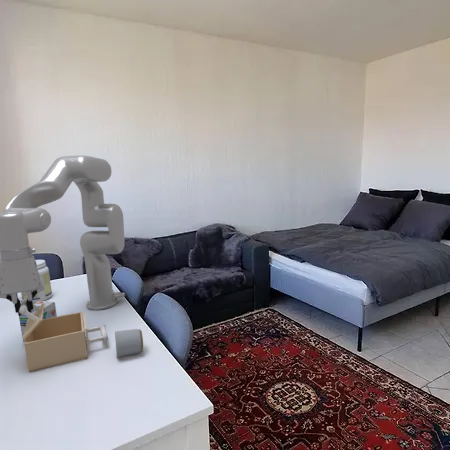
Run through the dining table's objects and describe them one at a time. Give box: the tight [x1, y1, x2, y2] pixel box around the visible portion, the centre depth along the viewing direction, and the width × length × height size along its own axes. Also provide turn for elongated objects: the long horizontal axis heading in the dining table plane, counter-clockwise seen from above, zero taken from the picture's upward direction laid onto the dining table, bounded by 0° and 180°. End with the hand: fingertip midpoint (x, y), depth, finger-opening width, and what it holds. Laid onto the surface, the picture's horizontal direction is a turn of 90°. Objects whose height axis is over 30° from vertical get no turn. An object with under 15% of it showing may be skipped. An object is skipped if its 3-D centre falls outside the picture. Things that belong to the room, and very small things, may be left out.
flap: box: [19, 298, 45, 340], centre depth 109 cm, size 7×14×6 cm
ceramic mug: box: [114, 328, 144, 358], centre depth 113 cm, size 11×8×8 cm
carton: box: [23, 311, 109, 373], centre depth 115 cm, size 23×16×9 cm
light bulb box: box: [18, 300, 58, 343], centre depth 126 cm, size 11×7×11 cm, turn 168°
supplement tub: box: [20, 259, 53, 304], centre depth 161 cm, size 12×12×17 cm
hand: (25, 312), depth 109 cm, fingers closed
